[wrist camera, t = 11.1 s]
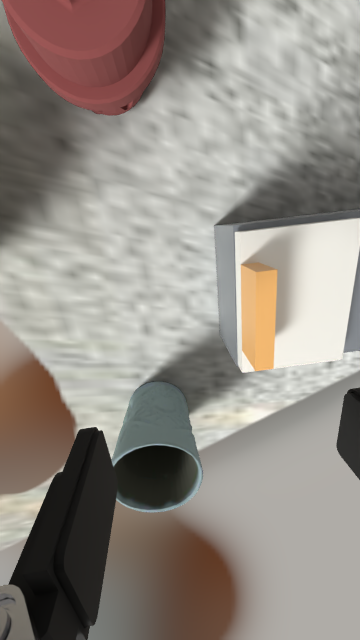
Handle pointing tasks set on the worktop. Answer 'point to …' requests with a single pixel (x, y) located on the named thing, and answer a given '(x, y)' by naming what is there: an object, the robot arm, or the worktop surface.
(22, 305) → the worktop surface
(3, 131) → the worktop surface
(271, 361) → the lid
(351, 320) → the housing
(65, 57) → the mechanical component
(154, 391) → the blue-grey cup
